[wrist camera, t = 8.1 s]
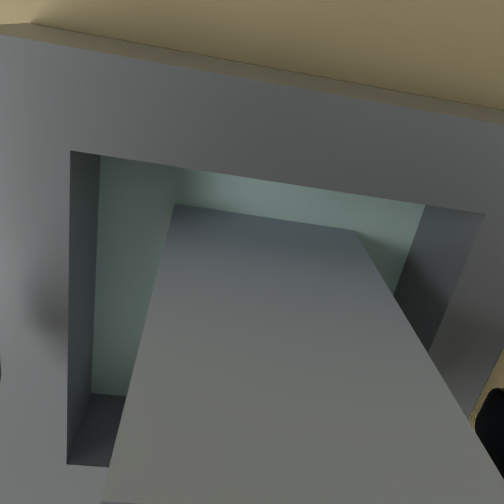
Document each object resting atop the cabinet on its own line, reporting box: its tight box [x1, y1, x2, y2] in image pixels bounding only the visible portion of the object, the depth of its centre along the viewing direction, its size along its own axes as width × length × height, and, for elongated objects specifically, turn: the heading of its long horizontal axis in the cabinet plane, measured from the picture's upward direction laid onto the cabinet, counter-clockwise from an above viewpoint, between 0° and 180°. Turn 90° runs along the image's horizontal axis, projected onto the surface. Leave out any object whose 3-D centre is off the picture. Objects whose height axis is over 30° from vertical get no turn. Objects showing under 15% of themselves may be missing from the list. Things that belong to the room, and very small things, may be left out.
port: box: [0, 23, 504, 504], centre depth 11 cm, size 10×10×3 cm
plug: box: [100, 204, 504, 504], centre depth 8 cm, size 4×4×8 cm
